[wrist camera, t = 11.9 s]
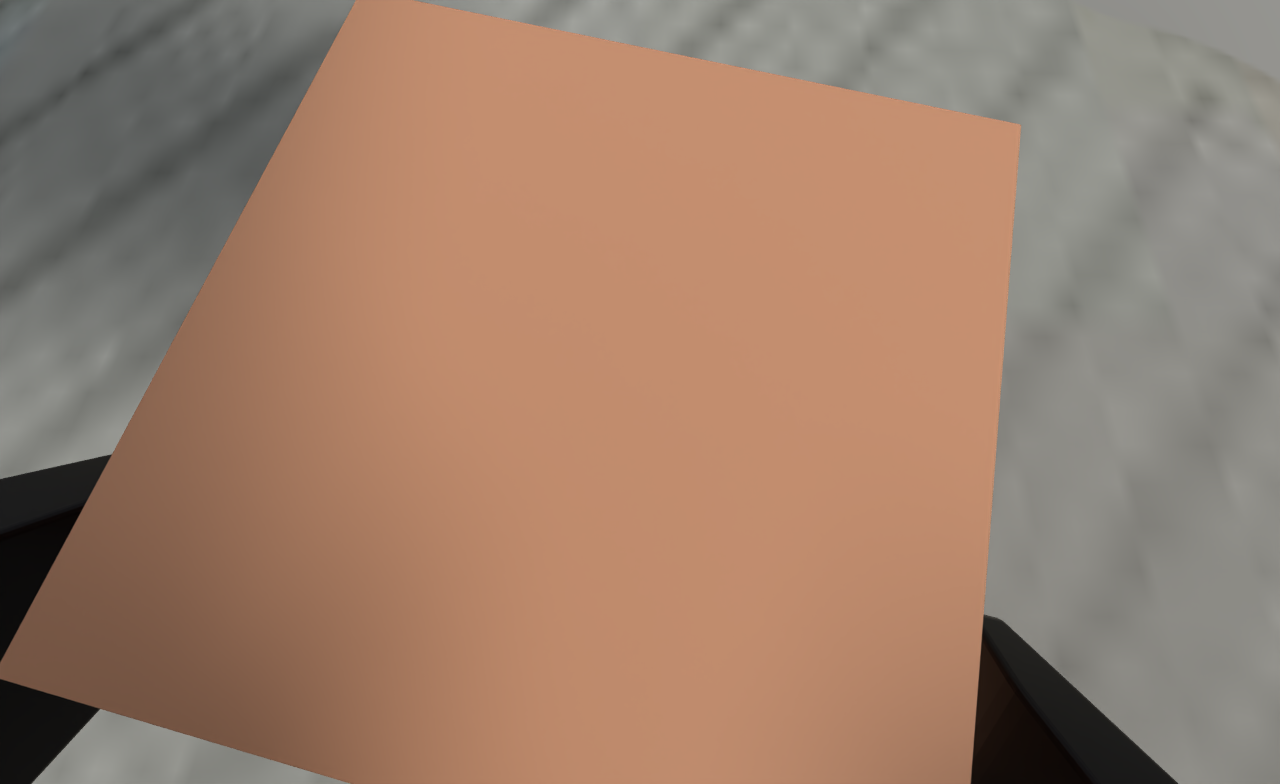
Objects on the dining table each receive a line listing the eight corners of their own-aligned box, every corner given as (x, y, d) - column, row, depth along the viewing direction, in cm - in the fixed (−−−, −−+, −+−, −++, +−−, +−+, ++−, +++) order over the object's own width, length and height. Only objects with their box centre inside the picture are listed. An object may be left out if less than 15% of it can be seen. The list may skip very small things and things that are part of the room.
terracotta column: (697, 692, 15) (955, 963, 3) (492, 635, 16) (-8, 676, 3) (739, 486, 17) (1020, 125, 5) (553, 438, 17) (361, -10, 5)
